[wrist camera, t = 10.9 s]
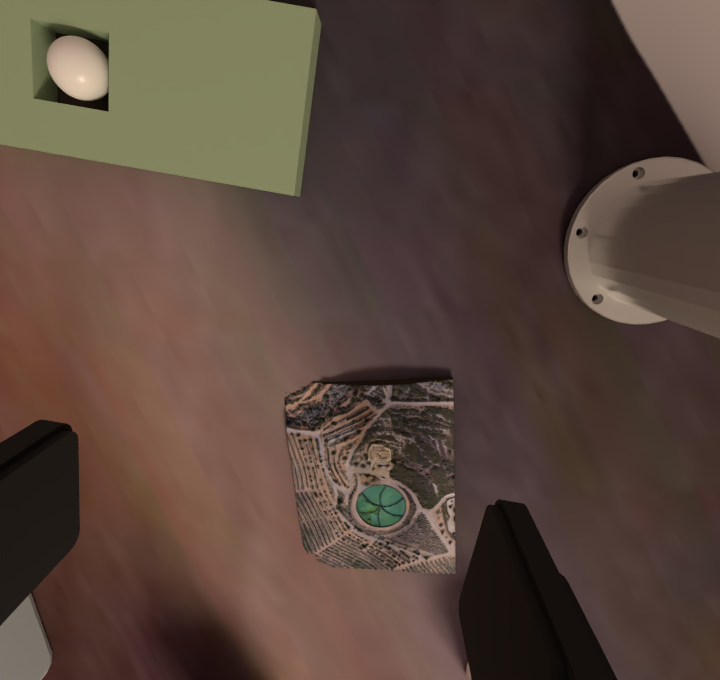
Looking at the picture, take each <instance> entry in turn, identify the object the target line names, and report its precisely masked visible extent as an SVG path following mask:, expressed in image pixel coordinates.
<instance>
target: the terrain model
mask: <svg viewBox="0 0 720 680" xmlns="http://www.w3.org/2000/svg"><path fill="white" fill-rule="evenodd" d="M286 393H287V392H286ZM453 404H454V399H453V378H452V377H441V378H440V377H439V378H424V379H423V378H420V379H408V380H407V379H405V380H383V381H362V382H361V381H358V382H314V383H310V384H309V385H307V386H305V387H301V388H300V390H299V391H295V393H290V394H289V396H287V398H286V397H285V406H286V428H287V438H288V444H289V452H290V459H291V464H292V470H293V477H294V484H295V491H296V498H297V505H298V513H299V519H300V527H301V533H302V540H303V545H304V548H305V550H306V551H307V554H308V552H309V551H310V552H311V553H312V554H314V553H316V555H315V556H316V557H318V558H319V559H317V560H318V561H320V562H322V563H324V564H326V565H329V566H331V567H340V568H344V567H345V568H362V569H364V568H367V569H375V570H376V569H387V570H389V569H391V570H392V571H393V569H396V570H403V571H408V572H409V571H413V572H419V573H420V572H421V573H435V574H437V573H439V574H441V573H442V574H443V573H444V574H455V573H456V571H455V568H456V565H455V562H456V561H455V468H454V465H455V464H454V409H453V408H454V405H453Z"/></svg>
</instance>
